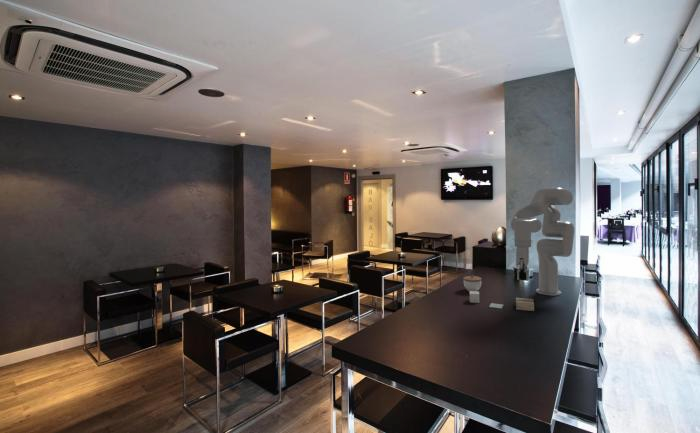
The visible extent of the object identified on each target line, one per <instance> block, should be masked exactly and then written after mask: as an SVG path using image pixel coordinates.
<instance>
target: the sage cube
mask: <svg viewBox="0 0 700 433" xmlns="http://www.w3.org/2000/svg"><path fill="white" fill-rule="evenodd" d="M516 275H517V276H516V277H517V278H516V279H517V280H516V281H520V280H519V267H518V268H517V269H516ZM529 280H530V268H527V269H526V280H523V281H525V282H526V281H527V282H529Z"/></svg>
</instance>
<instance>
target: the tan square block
mask: <svg viewBox="0 0 700 433" xmlns="http://www.w3.org/2000/svg"><path fill="white" fill-rule="evenodd" d="M515 309H516V310H520V311H528V312H529V311H532V312H534V311H535V303H534V298H525V297H524V298H523V297H515Z"/></svg>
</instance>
